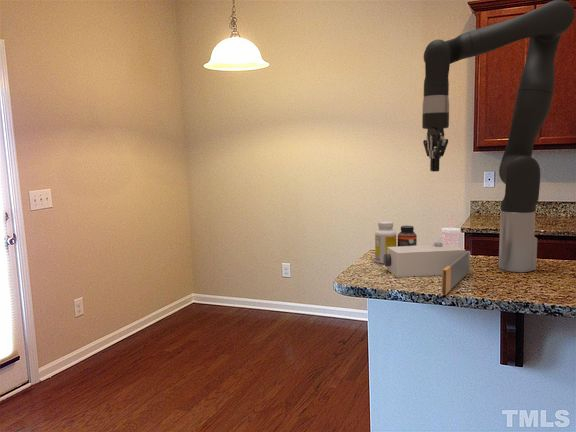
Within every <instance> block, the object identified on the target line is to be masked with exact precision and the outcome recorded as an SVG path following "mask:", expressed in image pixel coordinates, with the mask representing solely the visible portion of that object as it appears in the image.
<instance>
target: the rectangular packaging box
mask: <svg viewBox="0 0 576 432" xmlns="http://www.w3.org/2000/svg"><path fill="white" fill-rule="evenodd" d="M465 252H466V249H464V248H462V247H460V246H458V247H457V246H455V245H452V244H443V242H434V243H433V244H427V245H425V244H424V245H416V246H399V247H398V246H396V247H387V254H384V258H383V260H384V264H383V265H384V266H385V267H386V271H388V272H389V273H390V272H391V273H390V274H392V275H393V276H394V277H396V278H411V277H413V276H416V277H429V276H430V277H431V276H434V275H435V276H442V275H443V269H444V268H446V267H447V266H449V265H450V264H451V263H452V262H454V261H455V260H456V259H457V258H459V257H460V256H461V255H462V254H464V253H465ZM413 278H414V277H413Z"/></svg>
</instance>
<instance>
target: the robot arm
mask: <svg viewBox="0 0 576 432" xmlns="http://www.w3.org/2000/svg"><path fill="white" fill-rule="evenodd" d="M575 16H576V13H575V8H574V7H573V5H572V4H571V3H570V2H568V1H566V0H552V1H549V2H547V3H545V4H543V5H541V6H539V7H537V8H535V9H533V10H531V11H528V12H525V13H524V14H520V15H518V16H516V17H513V18H510V19H507V20H504V21H501V22H500V21H499V22H498V23H494V24H490V25H487V26H483V27H479V28H477V29H473V30H470V31H467V32H464V33H461V34H459V35H457V36H456V37H455V38H451V39H448V40H444V39H434V40H432V41H430V42H429V43H428V44H427V45H426V48H425V50H424V53H423V62H424V65H425V66H424V68H425V69H424V71H425V72H424V73H425V74H424V75H425V77H424V82H423V101H422V115H421V116H422V117H421V118H422V119H421V121H422V122H421V123H422V129H424V130H427V132H426V139H424V140H423V142H422V144H423V147H424V149H425V150H424V151H425V154H426V156H427V157H428V158H429V161H430V163H429V165H430V166H429V167H430V172H433V173H434V172H439V171H440V160H441V158H442V157H444V154H445V152H446V149H447V146H448V144H449V139H448V138H445V129H448V128H449V127H450V125H449V124H450V99H449V94H450V93H449V91H450V89H449V87H450V85H449V84H450V83H449V76H450V75H449V73H450V67H451V64H454V63H457V62H459V61H461V60H465V59H469V58H472V57H477V56H480V55H484V54H487V53H490V52H493V51H495V50H497V49H500V48H503V47H505V46H507V45H511V44H512V43H515V42H519V41H521V40H524V39H527V38H529V39H528V40H529V41H528V47H527V48H528V50H527V55H526V60H525V63H524V67H523V70H522V74H521V77H520V80H519V83H518V84H519V85H518V89H517V94H516V97H515V102H514V109H513V115H512V118H511V123H510V130H509V135H508V139H507V144H506V147H505V149H504V152H503V154H502V158H501V161H500V165H499V168H498V174H499V178H500V179H501V181H502V182H503V184H505V187H504V188H505V189H504V196H503V199H502V200H501V202H500V215H499V216H500V217H499V220H500V222H499V245H498V246H499V247H498V250H499V251H498V269H499V270H502V271H506V272H514V273H527V272H532V271H536V270H537V255H538V253H537V252H538V238H537V237H536V236H535V231H536V229H535V228H536V209H537V207H536V206H537V204H538V202H539V199H540V198H539V197H540V188H541V187H540V186H541V168H540V165H539V163H538V161H537V160H536V159H535V158H534V157H532V155H533V151H534V150H533V149H534V145H535V141H536V139H537V136H538V135H539V132H540V130H541V128H542V127H543V125H544V123H545V121H546V119H547V117H548V114H549V112H550V109H551V105H552V102H553V101H552V100H553V97H554V92H555V86H556V85H555V81H556V79H555V75H556V74H555V57H556V53H557V49H558V46H559V43H560V39H561V37H562V35H563V34H564V33H565V32H566V31H568V29H569V28H570V27H571V26H572V24H573V22H574V20H575Z"/></svg>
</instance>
